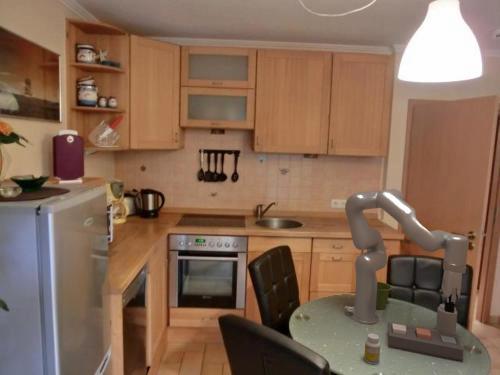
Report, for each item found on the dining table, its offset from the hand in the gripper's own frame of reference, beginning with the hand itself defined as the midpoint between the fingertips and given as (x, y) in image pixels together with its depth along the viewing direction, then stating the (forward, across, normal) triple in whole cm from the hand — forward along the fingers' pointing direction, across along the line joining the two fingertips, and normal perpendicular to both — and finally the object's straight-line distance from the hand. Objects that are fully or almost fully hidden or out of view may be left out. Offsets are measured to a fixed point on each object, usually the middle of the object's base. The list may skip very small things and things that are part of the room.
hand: (449, 311), depth 137 cm
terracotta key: (+14, 0, -8) cm, 16 cm away
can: (+17, -16, +3) cm, 24 cm away
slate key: (+15, 0, +1) cm, 15 cm away
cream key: (+14, 0, -17) cm, 22 cm away
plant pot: (+18, -32, -25) cm, 45 cm away
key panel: (+17, 0, -8) cm, 18 cm away
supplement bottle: (+17, +18, -27) cm, 37 cm away
